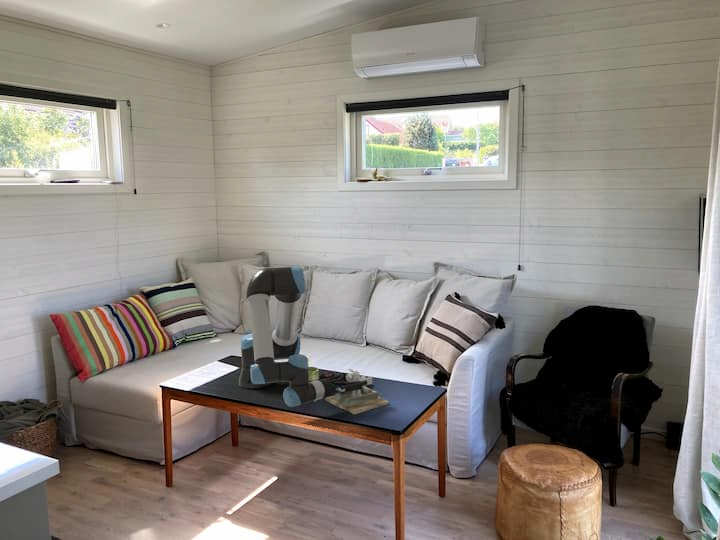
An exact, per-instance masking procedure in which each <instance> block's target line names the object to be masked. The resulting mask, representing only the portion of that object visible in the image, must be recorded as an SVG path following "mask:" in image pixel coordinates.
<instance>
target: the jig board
mask: <svg viewBox="0 0 720 540" xmlns="http://www.w3.org/2000/svg"><path fill="white" fill-rule="evenodd" d="M360 393H361V396H360V397H357V390H356V391H355V394H356V396H355V397H352V391H350V392H345V393H341V391H339V392H336V393H335V394H334V395H332V396H330V397H327V398H325V401H326V402H327V403H329V404H332V405H333V406H335V407H337V408H339V409H342V410H343V409H344V411H345V410H346V412H347V411H348V413H349V412H350V413H349V414H351V413H352V415H353V414H354V415H357V414H360V413H364V412H367V411H370V410H373V409H376V408H380V407H383V406H387V405H388V404H389V400H387V399H385V398H381V397H379V392H378V391H376V390H373V389H372V388H369V387H368V386H366V388H365V389H364V388H363V387H362V389H360Z"/></svg>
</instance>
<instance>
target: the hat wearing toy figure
mask: <svg viewBox="0 0 720 540" xmlns="http://www.w3.org/2000/svg"><path fill="white" fill-rule="evenodd" d="M348 371H349V372H351V373H348V374H346V375H347V376H346V379H348V380H349V379H350V380H349V381H348V380H347V381H348V382H356V381H359V380H361V379H365V378H367V377H366V376H365V374H363V375H361V376H360V374H361V373H359V371H358V370H353V369H351V368H348ZM350 374H352V376H351V375H350ZM362 387H363V388H364V389H365V388H366V387H367V386H362ZM355 391H356V390H355ZM355 391H352V397H355V396H356V394H355ZM360 396H361V393H360V390H357V397H360Z"/></svg>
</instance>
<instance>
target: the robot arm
mask: <svg viewBox="0 0 720 540" xmlns="http://www.w3.org/2000/svg"><path fill="white" fill-rule="evenodd" d="M306 293H307V287H306V279H305V274H304V269H303V268H302V267H301V266H293V265H291V266H281V267H279V266H277V267H264V268H262V269H259V270H258V271H257V272H256V273H254V274H253V275H252V277H251V278H250V279H249V282H248V284H247V288H246V294H245V295H246V296H245V297H246V303H247V304H249V310H250V311H249V313H250V324H251V333H247V334H246V335H244V336H243V337H242V338H241V339H240V352H241V371H240V375H239V376H238V377H239V378H238V386H239V387H241V388H243V389H248V388H249V389H250V388H251V389H252V390H253V388H254V389H255V388H256V389H263V388H266V387H268V385H269V386H270V385H272V383H273V384H274V383H283V382H288V383H289V385H288V386H287V387H286V388H284V390H283V392H282V397H283V401H284V404H286V406H288V407H290V408H293V407H296V406H297V407H298V406H301V405H304V404H308V403H311V402H315V403H316V401H319V400H322V399H326V398H327V397H330V396H333V394H334V393H339V392H341V393H345V392H350V391H355V390H360V389H362V386H365V385H367V386H369V385H372V384H373V377H372V376H369V377H366V378H365V379H361V380H359V381H356V382H348V381H349V380H350V379H349V380H348V379H346V376H347V375H348V374H346V372H345V373H344V372H343V373H341V374H337V375H335V376H334V377H331V378H328V379H326V378H325V379H321V380H320V379H319V380H318V379H317V380H314V381H310V382H309V367H310V366H309V362H308V357H307V356H306V355H305V354H301V353H300V352H301V336H300V334H299V333H298V332H296V317H297V308H298V307H297V306H298V301H299V300H300V299H301V297H302V295H304V294H306ZM271 296H272V297H273V296H274V298H275V299H276V300H277V301H276V317H275V329H274V330H273V331H272V326H271V324H272V323H271V316H270V314H271V313H270V308H269V307H270V306H269V302H270V301H271ZM283 360H287V361H283ZM275 361H277V362H275ZM278 361H279V362H278ZM358 372H359V371H358ZM359 373H360V372H359ZM349 374H350V375H351V376H352V373H349ZM360 374H361V373H360ZM347 380H348V381H347ZM345 381H347V382H346V383H344V382H345ZM262 387H263V388H262ZM251 389H250V390H251ZM256 389H255V390H256Z"/></svg>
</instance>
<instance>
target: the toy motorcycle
mask: <svg viewBox="0 0 720 540" xmlns="http://www.w3.org/2000/svg"><path fill="white" fill-rule="evenodd" d="M334 376H336V375H335V373H333V372H330V371H329V372H323V373H322V374H320V376H319V378H318V379H319V380H321V379H325V378H326V379H328V378H331V377H334ZM346 382H347V381H345V382H344V383H346ZM365 386H366V387H368V385H365Z"/></svg>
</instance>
